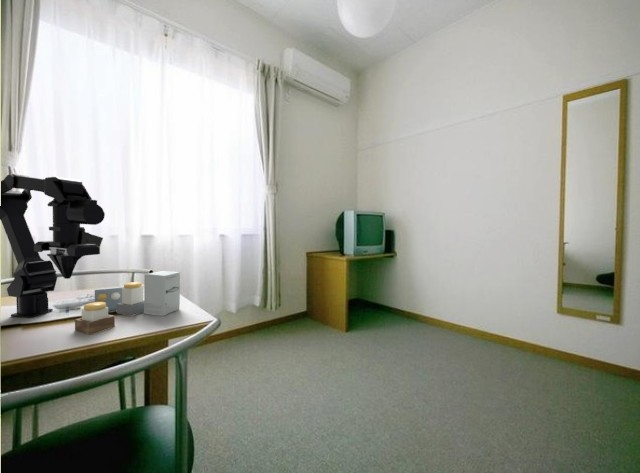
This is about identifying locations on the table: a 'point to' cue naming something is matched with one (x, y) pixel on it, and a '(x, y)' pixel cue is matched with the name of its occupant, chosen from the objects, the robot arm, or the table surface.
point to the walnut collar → (94, 325)
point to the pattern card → (109, 297)
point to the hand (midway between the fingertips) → (67, 278)
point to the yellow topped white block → (132, 293)
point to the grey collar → (130, 308)
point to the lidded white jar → (94, 311)
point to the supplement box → (161, 292)
